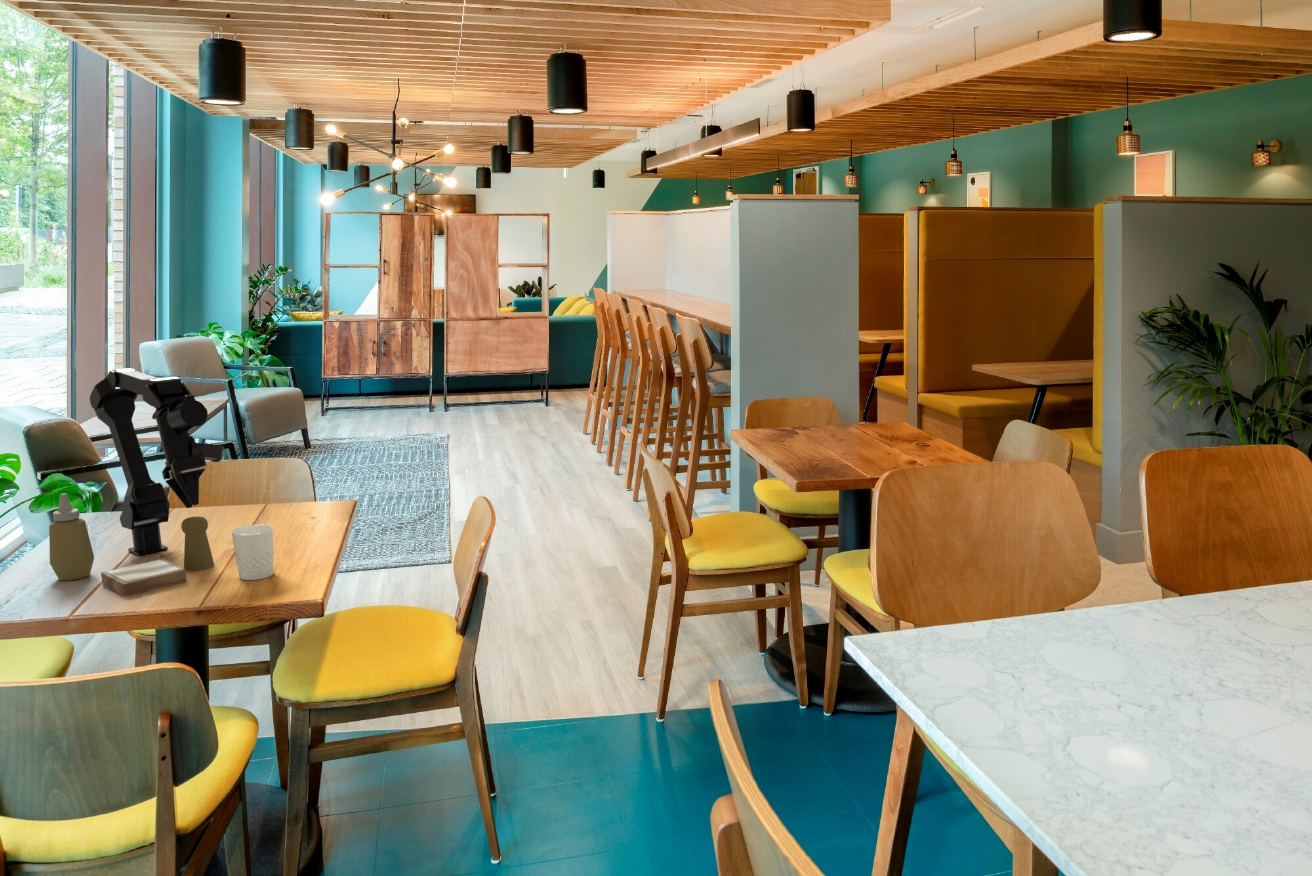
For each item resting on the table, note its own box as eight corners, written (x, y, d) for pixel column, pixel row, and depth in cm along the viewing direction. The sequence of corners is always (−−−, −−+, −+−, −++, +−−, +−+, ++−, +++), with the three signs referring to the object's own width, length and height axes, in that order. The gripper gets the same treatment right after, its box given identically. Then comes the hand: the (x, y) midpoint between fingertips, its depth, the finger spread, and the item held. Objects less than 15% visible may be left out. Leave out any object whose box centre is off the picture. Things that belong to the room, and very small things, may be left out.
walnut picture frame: (102, 584, 200) (100, 571, 199) (162, 569, 208) (161, 557, 208) (125, 596, 192) (123, 583, 191) (186, 581, 200) (185, 568, 200)
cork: (202, 571, 207) (197, 521, 205) (177, 570, 208) (171, 520, 206) (220, 563, 212) (215, 514, 210) (195, 561, 214) (190, 513, 212)
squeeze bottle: (50, 585, 199) (38, 500, 196) (53, 574, 206) (42, 492, 203) (95, 579, 203) (85, 495, 200) (97, 568, 210) (86, 487, 207)
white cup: (284, 571, 206) (280, 526, 204) (258, 583, 198) (254, 536, 197) (254, 568, 208) (250, 523, 207) (227, 579, 201) (223, 533, 199)
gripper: (222, 422, 204) (240, 494, 204) (208, 433, 219) (224, 500, 219) (165, 432, 197) (183, 507, 198) (154, 443, 213) (171, 512, 213)
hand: (192, 506), depth 207 cm, fingers open, 9 cm apart
